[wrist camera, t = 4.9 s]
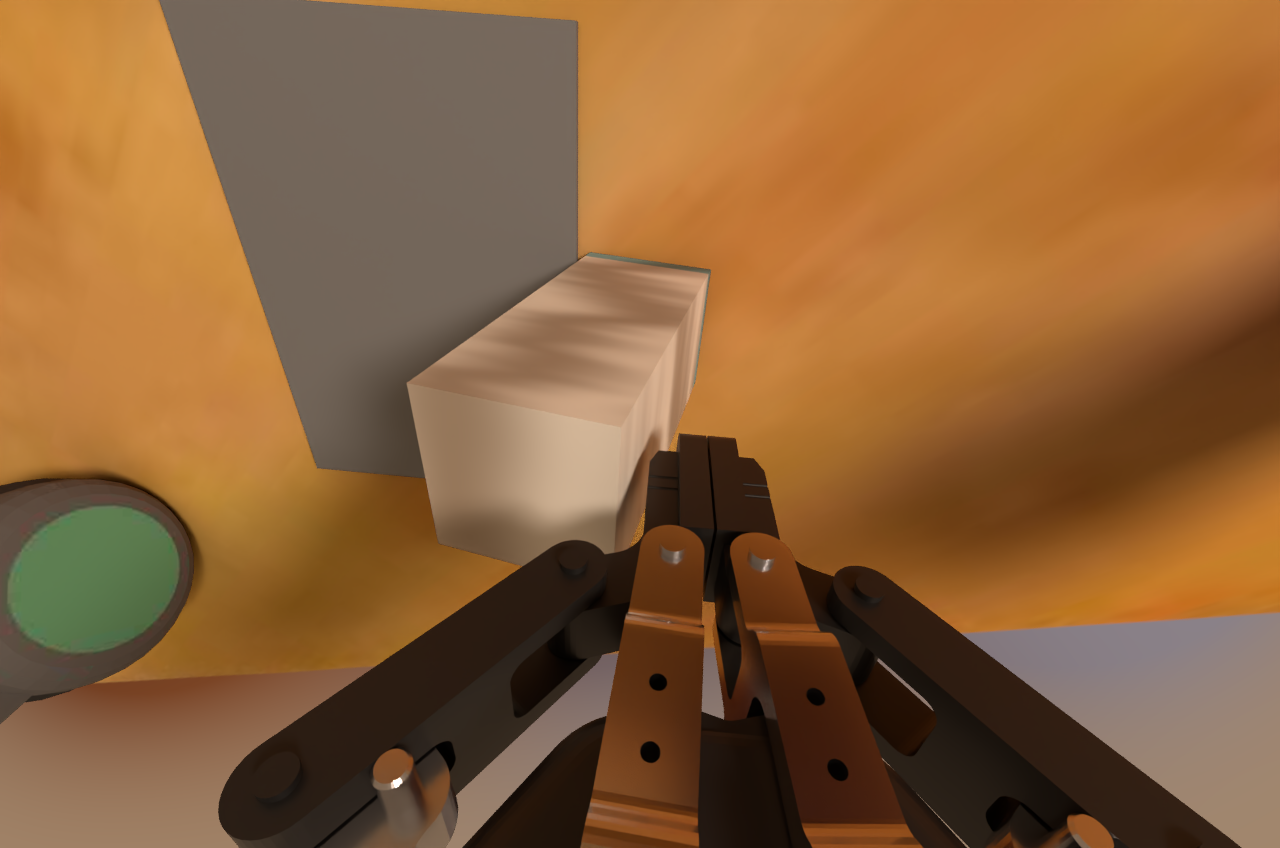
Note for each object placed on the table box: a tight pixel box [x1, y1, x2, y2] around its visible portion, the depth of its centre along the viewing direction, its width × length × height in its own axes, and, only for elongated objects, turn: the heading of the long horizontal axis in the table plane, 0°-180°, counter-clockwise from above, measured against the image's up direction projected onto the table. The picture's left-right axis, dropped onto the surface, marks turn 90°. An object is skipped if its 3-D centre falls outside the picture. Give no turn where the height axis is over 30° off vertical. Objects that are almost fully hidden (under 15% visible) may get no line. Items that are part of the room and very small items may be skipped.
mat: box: [159, 0, 578, 478], centre depth 23 cm, size 14×20×1 cm
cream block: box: [407, 252, 711, 566], centre depth 18 cm, size 5×5×12 cm
